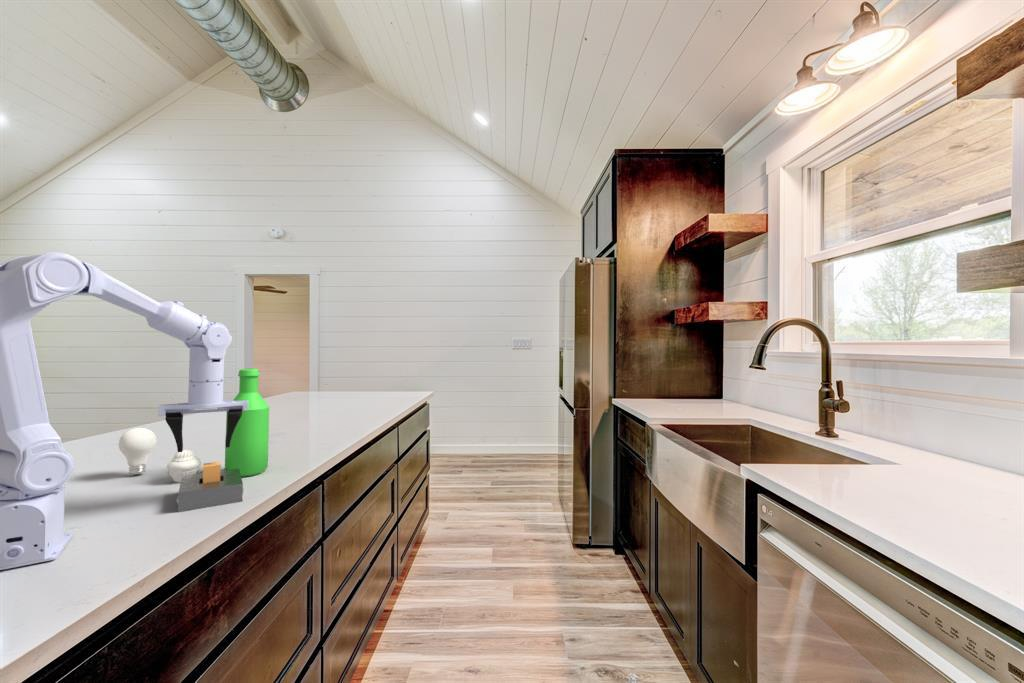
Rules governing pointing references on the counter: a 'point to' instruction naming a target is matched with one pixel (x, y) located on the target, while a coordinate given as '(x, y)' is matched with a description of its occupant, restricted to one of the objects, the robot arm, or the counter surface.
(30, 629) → the counter surface
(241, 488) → the grey slotted block
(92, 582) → the counter surface
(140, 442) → the light bulb
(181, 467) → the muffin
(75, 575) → the counter surface
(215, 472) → the orange rectangular block
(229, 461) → the bottle
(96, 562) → the counter surface
